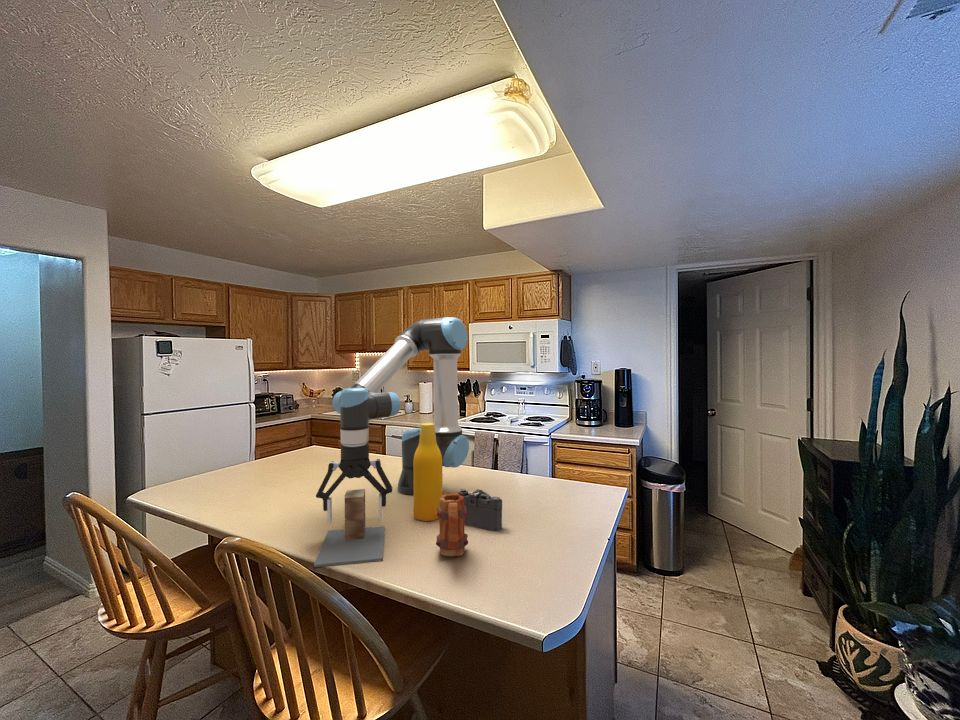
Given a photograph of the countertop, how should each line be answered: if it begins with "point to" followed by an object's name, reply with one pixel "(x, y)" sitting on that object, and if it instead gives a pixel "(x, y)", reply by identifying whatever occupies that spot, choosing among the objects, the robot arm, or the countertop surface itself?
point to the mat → (351, 548)
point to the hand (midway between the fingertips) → (355, 520)
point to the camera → (482, 510)
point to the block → (355, 514)
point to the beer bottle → (427, 475)
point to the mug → (452, 525)
